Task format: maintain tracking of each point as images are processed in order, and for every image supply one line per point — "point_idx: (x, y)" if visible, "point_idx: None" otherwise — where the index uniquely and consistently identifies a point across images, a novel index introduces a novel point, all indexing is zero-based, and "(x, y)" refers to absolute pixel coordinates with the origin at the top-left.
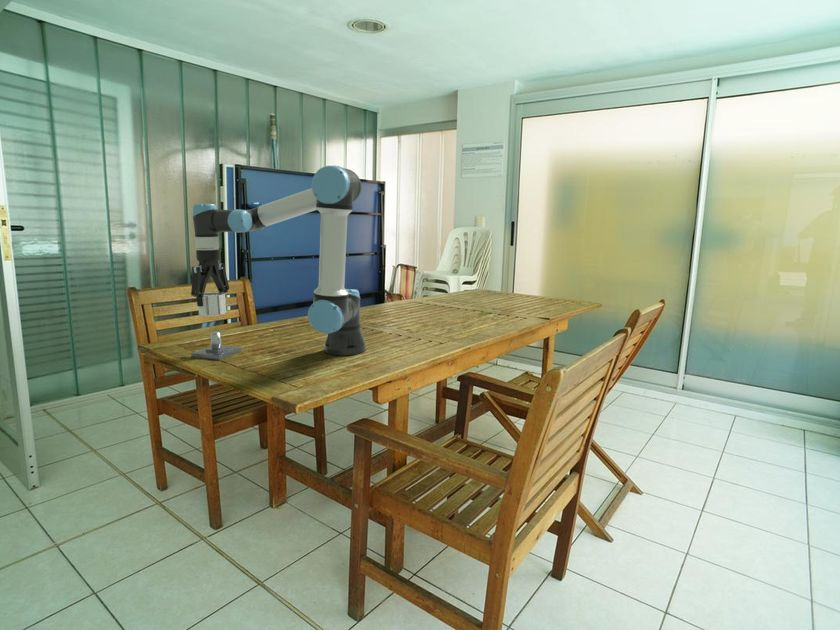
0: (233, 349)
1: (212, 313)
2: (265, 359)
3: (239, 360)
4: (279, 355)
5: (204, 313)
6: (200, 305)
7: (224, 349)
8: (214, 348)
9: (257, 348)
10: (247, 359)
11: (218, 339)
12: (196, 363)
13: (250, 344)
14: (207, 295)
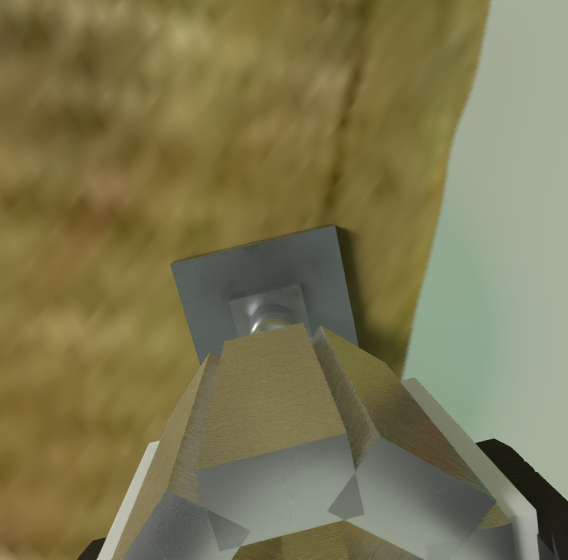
0: (221, 263)
1: (368, 356)
2: (201, 33)
3: (281, 142)
4: (107, 22)
5: (424, 393)
6: (507, 446)
7: (251, 293)
8: (293, 316)
9: (88, 243)
10: (250, 120)
11: (278, 318)
12: (404, 275)
13: (61, 336)
14: (457, 548)
